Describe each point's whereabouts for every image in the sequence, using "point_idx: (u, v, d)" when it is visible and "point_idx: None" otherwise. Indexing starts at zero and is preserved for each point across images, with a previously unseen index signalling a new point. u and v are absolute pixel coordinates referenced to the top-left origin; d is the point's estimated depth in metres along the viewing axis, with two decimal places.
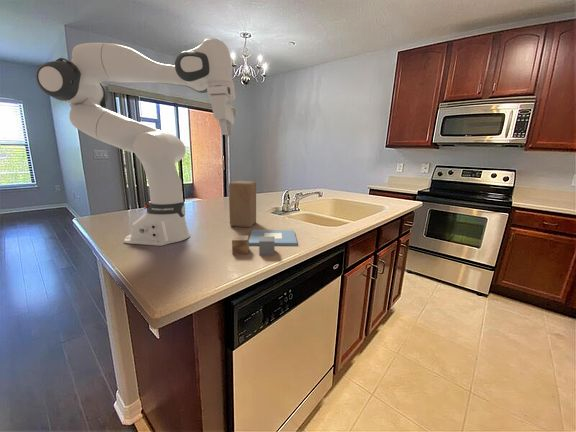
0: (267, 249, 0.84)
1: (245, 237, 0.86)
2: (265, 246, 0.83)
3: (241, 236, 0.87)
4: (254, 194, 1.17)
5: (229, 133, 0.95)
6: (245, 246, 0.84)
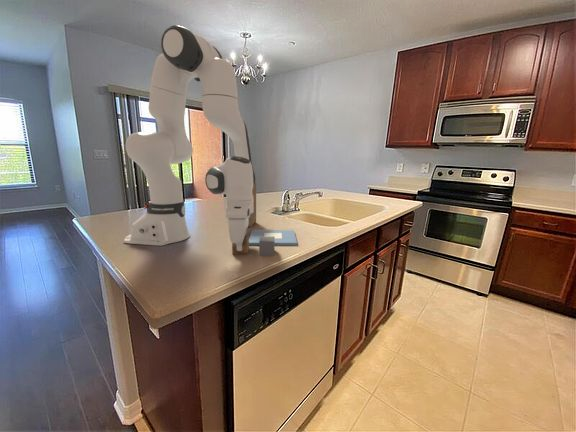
0: (267, 249, 0.84)
1: (245, 237, 0.86)
2: (265, 246, 0.83)
3: None
4: (254, 194, 1.17)
5: None
6: (245, 246, 0.84)
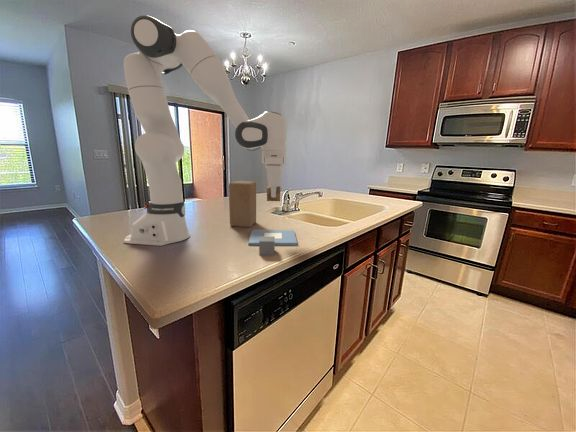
0: (267, 249, 0.84)
1: None
2: (265, 246, 0.83)
3: None
4: (254, 194, 1.17)
5: None
6: (278, 193, 0.95)
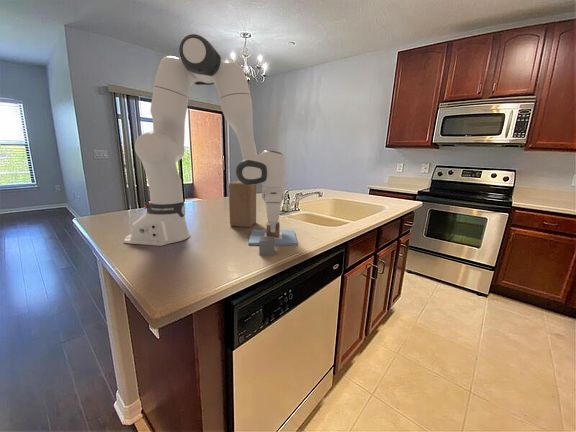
0: (267, 249, 0.84)
1: (277, 223, 1.00)
2: (265, 246, 0.83)
3: None
4: (254, 194, 1.17)
5: None
6: (277, 230, 0.98)
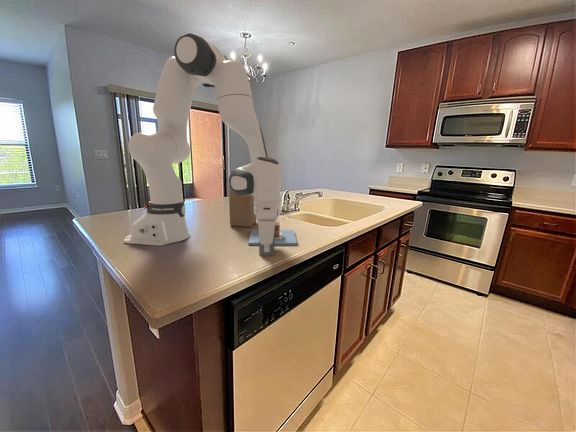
0: None
1: (277, 223, 1.00)
2: None
3: None
4: None
5: None
6: (277, 230, 0.98)
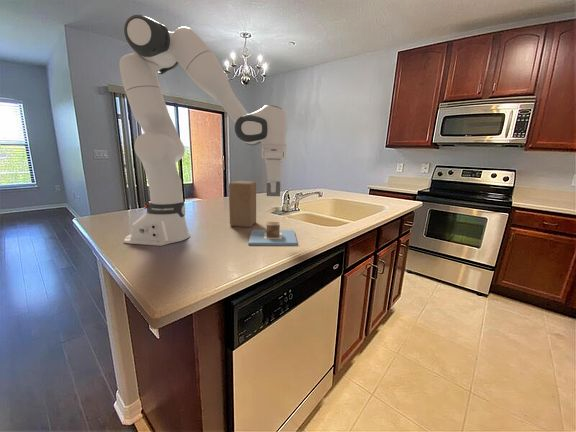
0: None
1: (277, 223, 1.00)
2: None
3: (273, 222, 1.01)
4: (254, 194, 1.17)
5: None
6: (277, 230, 0.98)
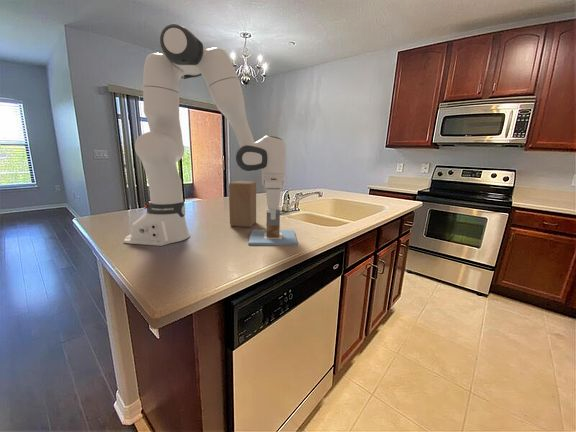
0: None
1: None
2: None
3: None
4: (254, 194, 1.17)
5: None
6: (277, 230, 0.98)
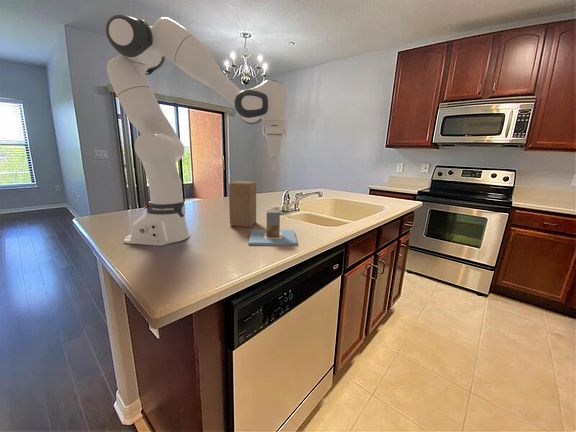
0: (274, 219, 0.97)
1: None
2: (272, 216, 0.97)
3: None
4: (254, 194, 1.17)
5: None
6: (277, 230, 0.98)
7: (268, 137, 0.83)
